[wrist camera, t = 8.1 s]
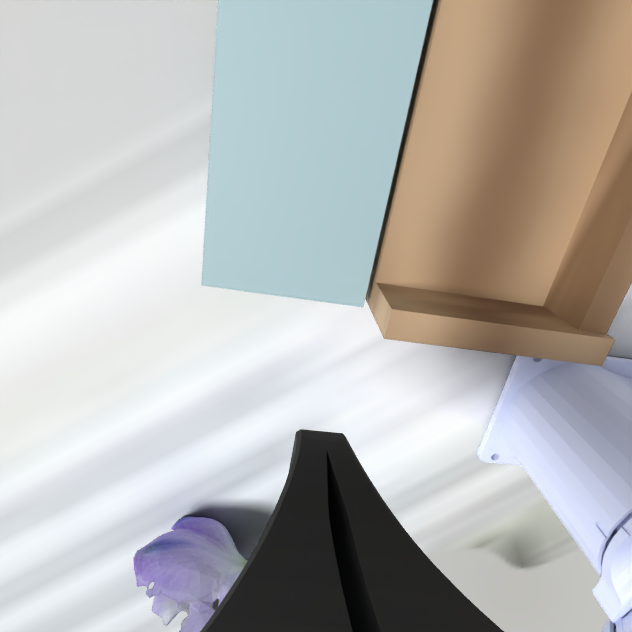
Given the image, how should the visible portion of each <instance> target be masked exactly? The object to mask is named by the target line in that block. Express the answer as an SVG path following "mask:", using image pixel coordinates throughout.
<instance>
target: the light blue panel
mask: <svg viewBox="0 0 632 632" xmlns="http://www.w3.org/2000/svg"><path fill="white" fill-rule="evenodd" d="M432 3H433V0H218V12H217V29H216V46H215V63H214V80H213V97H212V114H211V131H210V148H209V165H208V182H207V199H206V216H205V233H204V250H203V267H202V286H210V287H217V288H225V289H232V290H239V291H247V292H254V293H262V294H269V295H276V296H284V297H291V298H299V299H306V300H314V301H321V302H328V303H336V304H343V305H351V306H358V307H363V306H364V302H365V297H366V293H367V289H368V284H369V280H370V275H371V271H372V267H373V262H374V258H375V253H376V249H377V245H378V240H379V236H380V231H381V227H382V223H383V218H384V214H385V210H386V205H387V201H388V196H389V192H390V188H391V183H392V179H393V174H394V170H395V166H396V161H397V157H398V152H399V148H400V144H401V139H402V135H403V130H404V126H405V122H406V117H407V113H408V108H409V104H410V100H411V95H412V91H413V86H414V82H415V78H416V73H417V69H418V64H419V60H420V56H421V51H422V47H423V42H424V38H425V34H426V29H427V25H428V20H429V16H430V12H431V7H432Z"/></svg>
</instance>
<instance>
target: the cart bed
mask: <svg viewBox="0 0 632 632" xmlns="http://www.w3.org/2000/svg"><path fill="white" fill-rule="evenodd" d="M631 283H632V0H433V3H432V7H431V12H430V16H429V20H428V25H427V29H426V34H425V38H424V42H423V47H422V51H421V56H420V60H419V64H418V69H417V73H416V78H415V82H414V86H413V91H412V95H411V100H410V104H409V108H408V113H407V117H406V122H405V126H404V130H403V135H402V139H401V144H400V148H399V152H398V157H397V161H396V166H395V170H394V174H393V179H392V183H391V188H390V192H389V196H388V201H387V205H386V210H385V214H384V218H383V223H382V227H381V231H380V236H379V240H378V245H377V249H376V253H375V258H374V262H373V267H372V271H371V275H370V280H369V284H368V289H367V293H366V297H365V299H366V301H367V303H368V305H369V307H370V309H371V312H372V314H373V316H374V318H375V320H376V322H377V324H378V327H379V329H380V331H381V333H382V335H383V337H384V339H391V340H399V341H407V342H415V343H422V344H430V345H438V346H446V347H454V348H462V349H470V350H478V351H486V352H494V353H501V354H509V355H517V356H525V357H533V358H541V359H549V360H557V361H565V362H573V363H581V364H588V365H596V366H602V365H603V363H604V361H605V359H606V357H607V355H608V353H609V351H610V349H611V347H612V345H613V343H614V341H615V339H614V338H612V337H610V336H609V335H607V334H606V333H607V331H608V329H609V327H610V325H611V323H612V321H613V319H614V317H615V315H616V313H617V311H618V309H619V307H620V305H621V303H622V301H623V299H624V297H625V295H626V293H627V291H628V289H629V287H630V285H631Z"/></svg>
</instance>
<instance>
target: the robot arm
mask: <svg viewBox="0 0 632 632" xmlns="http://www.w3.org/2000/svg"><path fill="white" fill-rule="evenodd" d="M493 454H495V455H493ZM477 455H478V457H479V459H480V460H481V461H483V462H490V463H501V464H512V465H522V467H523V468H524V469H525V471H526V472H527V474H528V475H529V477H530V478H531V479H532V481H533V482H534V484H535V485H536V486H537V488H538V489H539V491H540V492H541V494H542V495H543V496H544V498H545V499H546V501H547V502H548V503H549V505H550V506H551V508H552V509H553V510H554V512H555V513H556V515H557V516H558V518H559V519H560V520H561V522H562V523H563V525H564V526H565V527H566V529H567V530H568V532H569V533H570V535H571V536H572V537H573V539H574V540H575V542H576V543H577V544H578V546H579V547H580V549H581V550H582V552H583V553H584V554H585V556H586V557H587V559H588V560H589V561H590V563H591V564H592V566H593V567H594V569H595V570H596V571H597V573H598V574H599V576H600V577H601V578H600V581H599V582H598V584H597V585H596V586H595V588H594V589H593V590H592V593H593V594H594V596H595V597H596V599H597V600H598V602H599V603H600V605H601V606H602V608H603V609H604V611H605V612H606V614H607V615H608V617H609V618H610V619H609V620H607V622H606V623H605V624H604V626H603V629H602V632H632V359H625V358H617V357H609V356H607V357H606V359H605V361H604V363H603V365H602V366H596V365H588V364H581V363H573V362H565V361H557V360H549V359H541V358H535V359H533V357H525V356H516V359H515V361H514V364H513V366H512V368H511V371H510V373H509V376H508V378H507V381H506V383H505V386H504V388H503V391H502V393H501V396H500V398H499V400H498V403H497V405H496V408H495V410H494V413H493V415H492V418H491V420H490V423H489V425H488V427H487V430H486V432H485V435H484V437H483V440H482V442H481V445H480V447H479V450H478V453H477ZM492 455H493V456H492ZM200 632H504V631H502V630H501V629H500V628H499V627H498V626H497V625H496V624H495V623H493V622H492V621H491V620H490V619H489V618H488V617H487V616H486V615H484V613H482V612H481V611H480V610H479V609H478V608H477V607H476V606H475V605H474V604H473V603H472V602H471V601H470V600H468V599H467V598H466V597H465V596H464V595H463V594H462V593H461V592H460V591H459V590H458V589H457V588H456V587H455V586H454V585H453V584H452V583H451V581H450V580H449V579H448V578H447V577H446V576H445V575H444V574H443V573H442V572H441V571H440V570H439V569H438V568H437V567H436V566H435V565H434V564H433V563H432V562H431V561H430V559H429V558H428V557H427V556H426V555H425V554H424V553H423V551H422V550H421V549H420V548H419V547H418V545H417V544H416V543H415V542H414V541H413V539H412V538H411V537H410V536H409V534H408V533H407V532H406V531H405V529H404V528H403V527H402V525H401V524H400V523H399V521H398V520H397V519H396V517H395V516H394V515H393V513H392V512H391V510H390V509H389V508H388V506H387V505H386V503H385V502H384V500H383V499H382V497H381V496H380V494H379V493H378V491H377V490H376V488H375V487H374V485H373V484H372V482H371V480H370V479H369V477H368V476H367V474H366V472H365V471H364V469H363V467H362V466H361V464H360V462H359V460H358V459H357V457H356V455H355V453H354V452H353V450H352V448H351V446H350V444H349V442H348V441H347V439H346V437H345V436H344V434H343V433H332V432H322V431H312V430H299V431H297V432H296V436H295V441H294V447H293V452H292V458H291V463H290V469H289V474H288V477H287V480H286V483H285V486H284V488H283V491H282V493H281V495H280V498H279V500H278V503H277V505H276V507H275V510H274V512H273V514H272V516H271V518H270V520H269V522H268V524H267V526H266V528H265V530H264V532H263V534H262V536H261V538H260V540H259V542H258V544H257V545H256V547H255V549H254V551H253V552H252V554H251V556H250V558H249V559H248V561H247V563H246V565H245V566H244V568H243V570H242V571H241V573H240V574H239V576H238V578H237V579H236V581H235V582H234V584H233V585H232V587H231V588H230V590H229V591H228V593H227V594H226V596H225V597H224V599H223V600H222V602H221V603H220V605H219V606H218V608H217V609H216V611H215V612H214V614H213V615H212V616H211V618H210V619H209V621H208V622H207V623H206V625H205V626H204V627H203V629H202V630H201V631H200Z"/></svg>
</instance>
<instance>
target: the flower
mask: <svg viewBox="0 0 632 632" xmlns="http://www.w3.org/2000/svg"><path fill="white" fill-rule="evenodd" d="M172 529H173V530H174V531H171V532H168V533H166V534H163V535H161V536H159V537H157V538H156V539H155V540H153V541H152V542H150V543H149V544H148V545H146V546H145V547H143V548H141V549H140V550H138V551H137V552H136V554H135V556H134V570H135V574H136V580H137V586H138V587H139V586H147V592H146V594H147V596H148V597H149V598H150V597H152V596H154V601H153V606H152V611H153V613H155V614H157V615H158V616H160V617H161V618H162V619H163V623H164V625H166V626H167V625H168V624H169V623H170V622H171V620H172V619H173V618H174V617H175V616H176V615H177V614H178V613H179V612H180V611H186V612H187V614H188V616H187V617H186V618H185V619H184V620H183V621H182V623H181V630H180V631H179V632H200V631H201V630H202V629H203V627H204V626H205V625H206V623H207V622H208V621H209V619H210V618H211V616H212V615H213V614H214V612H215V611H216V609H217V608H218V606H219V605H220V603H221V602H222V600H223V599H224V597H225V596H226V594H227V593H228V591H229V590H230V588H231V587H232V585H233V584H234V582H235V581H236V579H237V578H238V576H239V574H240V573H241V571H242V570H243V568H244V566H245V565H246V563H247V561H248V560H246V559H245V558H244V557H243V556H242V555H241V554H240V553H239V552H238V551H237V549H236V546H235V544H234V542H233V539H232V537H231V535H230V534H229V532H228V531H227V529H226V528H225V526H224V525H222V524H221V523H220V522H218V521H216V520H214V519H210V518H204V517H183V518H181V519H179V520H178V521H177V522H176V523H175V525H174V526H173V527H172ZM151 582H154V586H153V588H152V589H149V588H148V586H149V584H150V583H151Z"/></svg>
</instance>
